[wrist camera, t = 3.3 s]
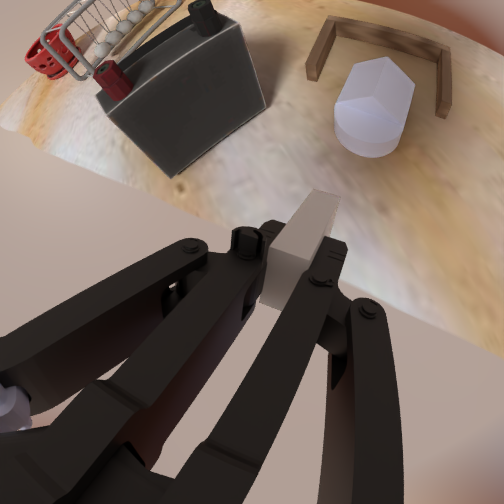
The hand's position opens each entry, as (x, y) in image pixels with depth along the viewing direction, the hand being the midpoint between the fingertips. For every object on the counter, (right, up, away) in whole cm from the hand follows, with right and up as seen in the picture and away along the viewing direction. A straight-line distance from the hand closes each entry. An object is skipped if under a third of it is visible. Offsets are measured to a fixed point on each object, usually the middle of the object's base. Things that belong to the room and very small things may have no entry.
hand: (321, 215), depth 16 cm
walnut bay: (+16, +26, +21) cm, 37 cm away
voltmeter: (-12, +18, +26) cm, 34 cm away
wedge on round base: (+12, +16, +20) cm, 28 cm away
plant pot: (-53, +47, +42) cm, 82 cm away
